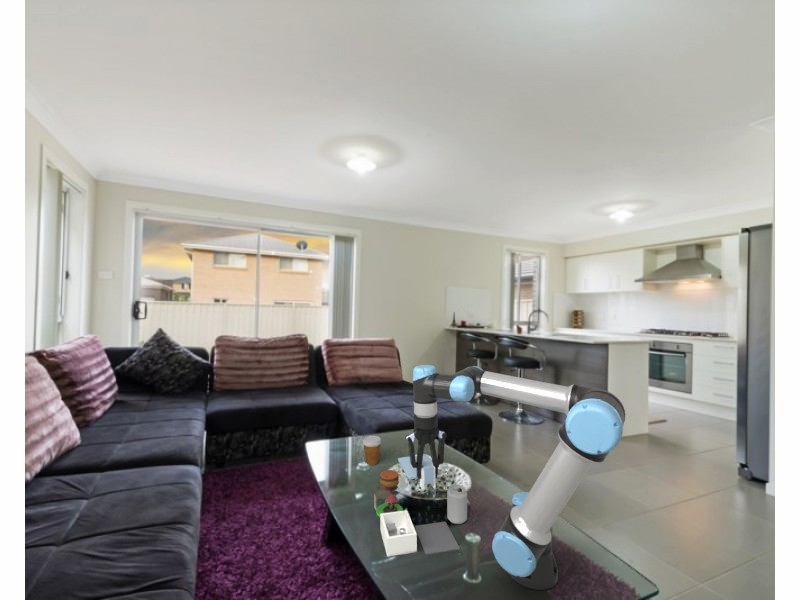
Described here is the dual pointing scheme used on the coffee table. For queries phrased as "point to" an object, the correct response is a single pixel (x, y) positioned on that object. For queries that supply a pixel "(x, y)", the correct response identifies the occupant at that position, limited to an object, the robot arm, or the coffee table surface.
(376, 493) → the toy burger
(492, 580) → the coffee table surface
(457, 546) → the mat
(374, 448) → the disposable coffee cup
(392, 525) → the parts
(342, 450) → the coffee table surface
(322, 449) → the coffee table surface
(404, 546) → the tub
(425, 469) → the lid
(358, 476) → the coffee table surface
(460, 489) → the can
